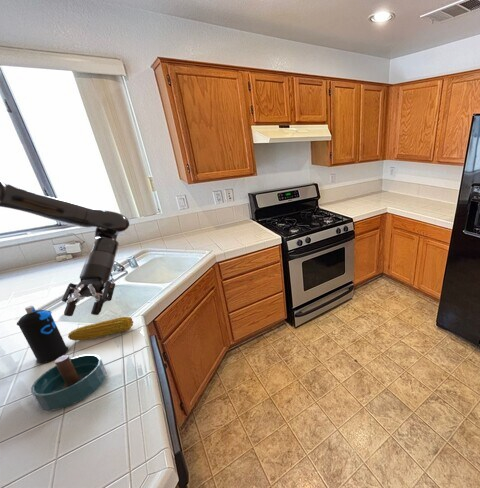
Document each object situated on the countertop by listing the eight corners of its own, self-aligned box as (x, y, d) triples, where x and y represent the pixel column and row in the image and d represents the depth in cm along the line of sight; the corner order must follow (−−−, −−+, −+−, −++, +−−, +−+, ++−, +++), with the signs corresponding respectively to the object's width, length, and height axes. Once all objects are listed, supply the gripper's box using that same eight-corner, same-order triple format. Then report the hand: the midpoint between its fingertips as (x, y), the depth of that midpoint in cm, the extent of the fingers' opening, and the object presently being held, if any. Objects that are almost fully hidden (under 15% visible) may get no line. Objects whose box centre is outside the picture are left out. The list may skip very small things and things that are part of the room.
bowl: (29, 422, 69) (19, 405, 67) (51, 381, 82) (44, 366, 80) (101, 395, 76) (94, 379, 74) (111, 362, 89) (105, 347, 87)
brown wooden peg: (60, 397, 76) (45, 368, 72) (67, 384, 80) (53, 356, 76) (83, 388, 78) (70, 360, 74) (88, 376, 82) (76, 349, 79)
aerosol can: (31, 367, 89) (4, 317, 82) (44, 351, 96) (20, 304, 89) (62, 358, 92) (38, 309, 85) (72, 344, 99) (51, 298, 92)
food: (136, 324, 109) (131, 312, 107) (131, 332, 103) (126, 320, 101) (74, 337, 102) (68, 325, 100) (65, 347, 97) (59, 334, 95)
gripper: (67, 264, 86) (47, 314, 79) (110, 261, 86) (93, 311, 78) (87, 271, 93) (70, 318, 86) (127, 269, 92) (112, 316, 85)
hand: (81, 315), depth 82 cm, fingers open, 8 cm apart
